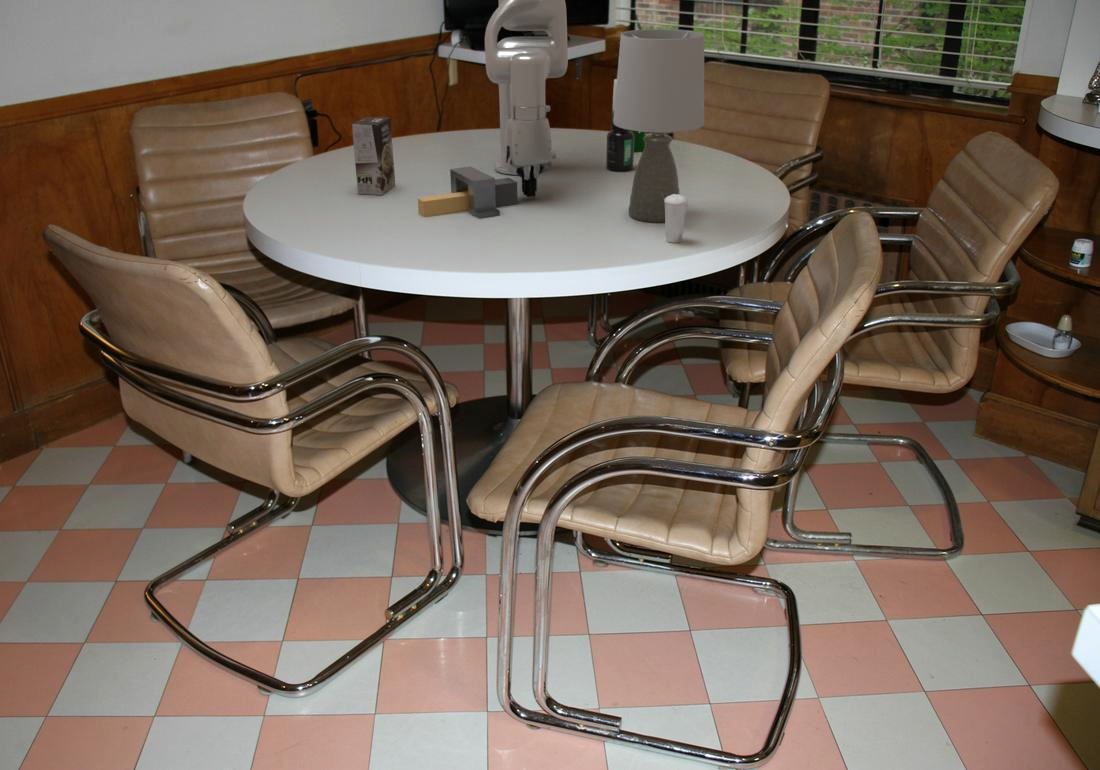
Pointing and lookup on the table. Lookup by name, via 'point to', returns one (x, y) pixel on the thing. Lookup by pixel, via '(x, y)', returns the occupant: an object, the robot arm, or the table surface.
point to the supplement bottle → (619, 149)
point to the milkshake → (674, 217)
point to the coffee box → (373, 155)
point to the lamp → (658, 107)
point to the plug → (466, 199)
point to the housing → (475, 190)
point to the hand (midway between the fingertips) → (529, 195)
